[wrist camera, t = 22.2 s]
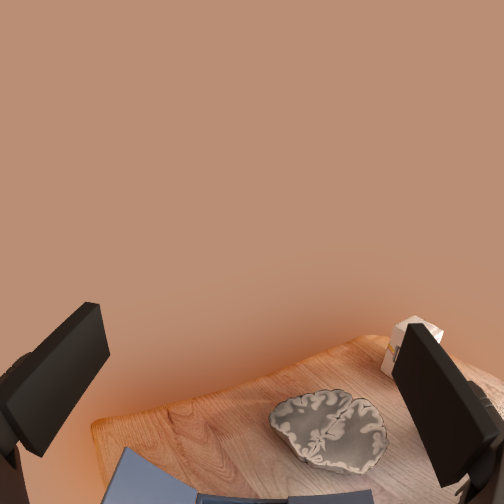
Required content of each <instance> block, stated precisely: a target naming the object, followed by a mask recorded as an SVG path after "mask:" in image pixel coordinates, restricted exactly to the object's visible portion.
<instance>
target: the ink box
mask: <svg viewBox="0 0 504 504" xmlns="http://www.w3.org/2000/svg"><path fill="white" fill-rule="evenodd" d="M408 323H423V324H424V325H425V326H426V328H427V329H428V330H429V331H430V333H431V334H432V335H433V336H434V338H435V339H436V340H437V342H438V343H440V340H441V337H442V334H443V330H442V329H440V328H438V327H436V326H434V325H432V324H430V323H429V322H427V321H425V320H423V319H421V318H419V317H417V316H415V315H414V316H413V317H411V318H409V319H406V320H404V321H402V322H400V323H398V324H396V325H394V327H393V330H392V334H391V337H390V341H389V344H388V347H387V351H386V354H385V357H384V360H383V363H382V366H381V369H380V370H381V371H382V372H384V373H385V374H386V375H388V376H389V377H390V378H392V379H393V377H392V375H391V372H392V370H393V367H394V364H395V361H396V359H397V356H398V353H399V350H400V347H401V344H402V341H403V338H404V335H405V332H406V328H407V325H408ZM393 380H394V379H393Z"/></svg>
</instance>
